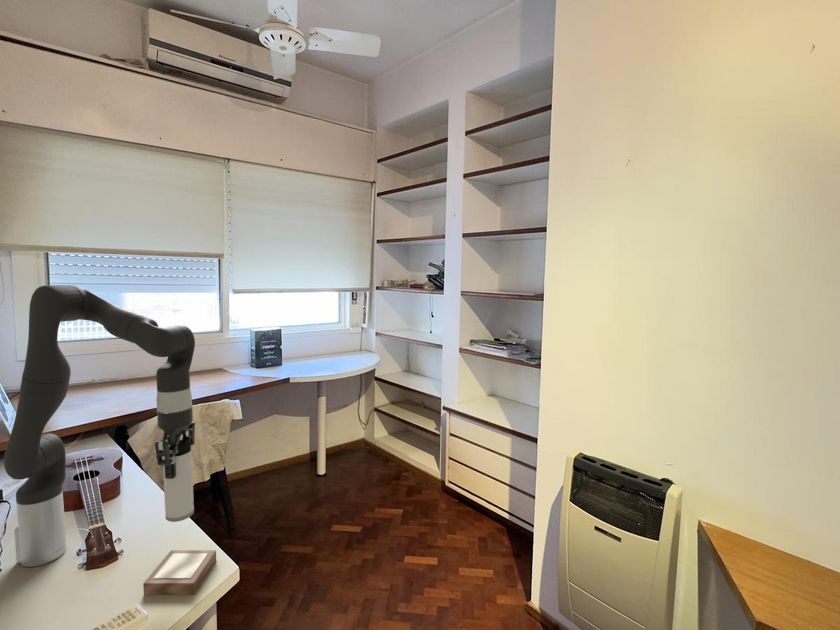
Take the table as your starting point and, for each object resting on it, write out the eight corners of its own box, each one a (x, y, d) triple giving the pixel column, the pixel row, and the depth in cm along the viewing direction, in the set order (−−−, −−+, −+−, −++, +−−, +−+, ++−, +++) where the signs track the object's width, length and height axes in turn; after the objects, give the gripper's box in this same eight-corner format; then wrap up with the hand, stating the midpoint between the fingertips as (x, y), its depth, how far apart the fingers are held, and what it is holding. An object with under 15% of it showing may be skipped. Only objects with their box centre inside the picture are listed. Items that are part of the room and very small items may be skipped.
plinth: (143, 594, 101) (143, 582, 101) (171, 560, 113) (170, 549, 112) (194, 594, 101) (193, 582, 101) (216, 560, 113) (216, 549, 113)
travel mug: (200, 509, 108) (197, 435, 106) (179, 524, 102) (176, 445, 100) (181, 506, 110) (177, 432, 108) (159, 520, 103) (155, 442, 101)
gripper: (175, 398, 110) (178, 458, 111) (141, 416, 95) (145, 486, 97) (204, 397, 110) (206, 458, 112) (174, 416, 96) (178, 485, 97)
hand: (178, 471), depth 104 cm, fingers closed on travel mug, 6 cm apart
